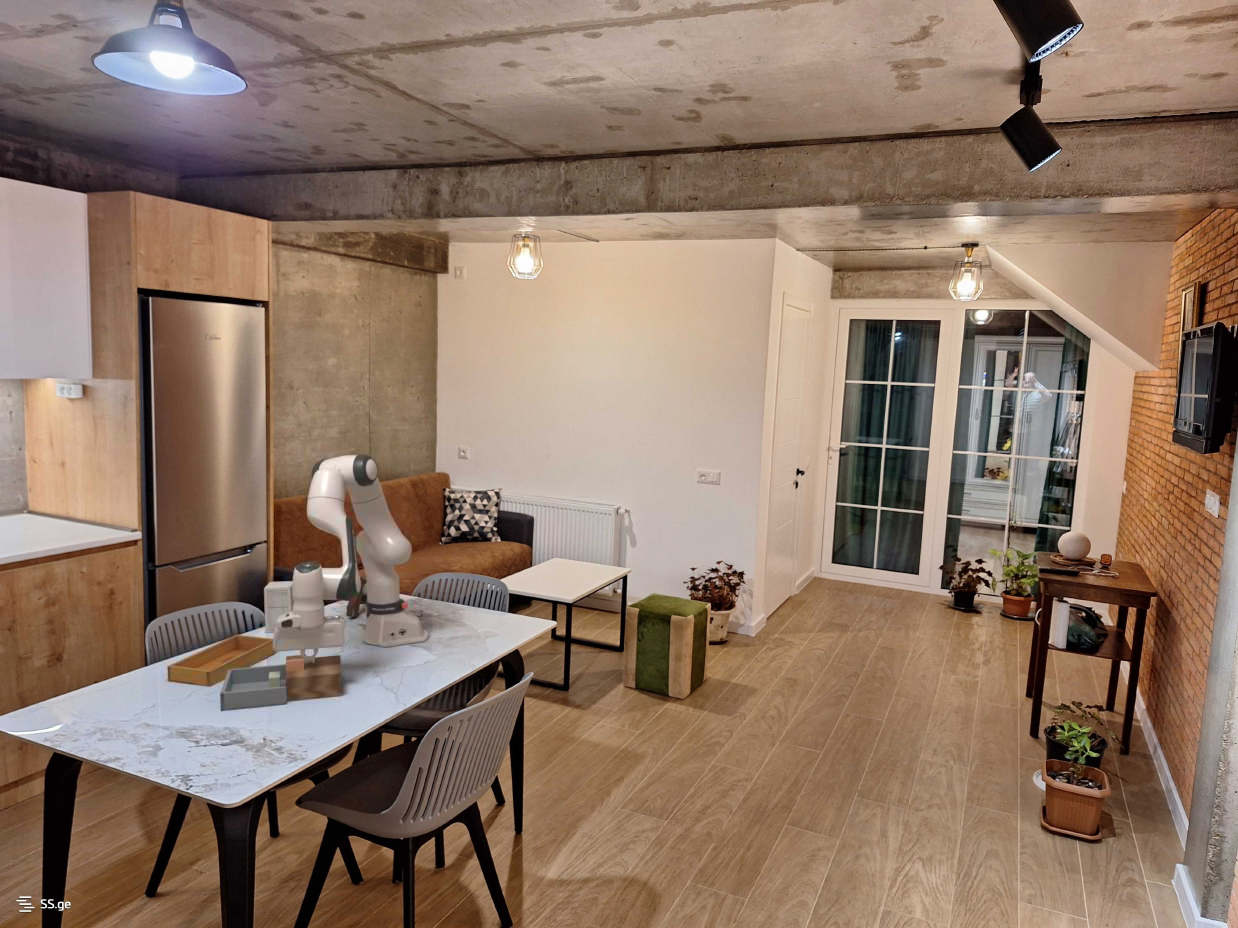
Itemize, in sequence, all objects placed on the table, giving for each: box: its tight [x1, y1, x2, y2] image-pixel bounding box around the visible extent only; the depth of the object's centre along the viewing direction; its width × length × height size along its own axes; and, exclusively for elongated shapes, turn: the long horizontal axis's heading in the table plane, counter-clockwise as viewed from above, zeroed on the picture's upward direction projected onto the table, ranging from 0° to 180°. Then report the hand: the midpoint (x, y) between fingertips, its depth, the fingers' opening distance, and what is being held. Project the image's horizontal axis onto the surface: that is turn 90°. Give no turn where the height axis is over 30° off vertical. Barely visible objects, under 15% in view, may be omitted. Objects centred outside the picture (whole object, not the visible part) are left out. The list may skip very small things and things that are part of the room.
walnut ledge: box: [286, 654, 342, 703], centre depth 249 cm, size 15×16×7 cm
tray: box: [167, 634, 276, 688], centre depth 265 cm, size 31×15×6 cm, turn 166°
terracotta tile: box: [285, 654, 305, 672], centre depth 247 cm, size 5×5×3 cm
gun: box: [345, 577, 367, 618], centre depth 332 cm, size 5×27×15 cm, turn 174°
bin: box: [219, 663, 287, 712], centre depth 244 cm, size 17×20×5 cm
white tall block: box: [263, 580, 294, 634], centre depth 304 cm, size 10×9×17 cm
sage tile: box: [269, 671, 281, 688], centre depth 245 cm, size 5×5×3 cm
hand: (309, 662), depth 248 cm, fingers closed
